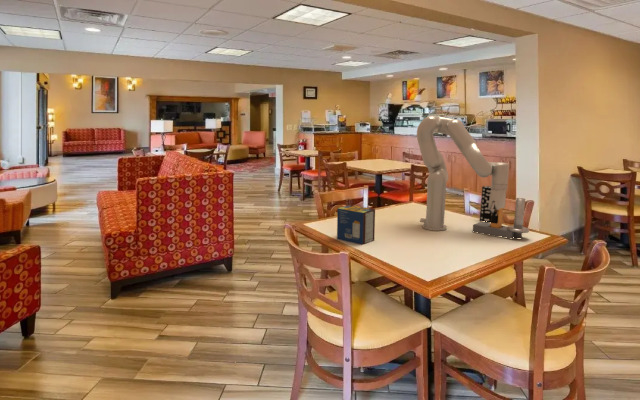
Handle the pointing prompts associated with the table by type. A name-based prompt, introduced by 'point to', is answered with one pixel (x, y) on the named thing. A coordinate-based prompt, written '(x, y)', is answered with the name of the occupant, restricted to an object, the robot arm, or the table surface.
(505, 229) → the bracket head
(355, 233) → the protein box
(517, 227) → the rosette post
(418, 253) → the table surface
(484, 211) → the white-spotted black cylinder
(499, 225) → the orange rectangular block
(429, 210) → the robot arm
